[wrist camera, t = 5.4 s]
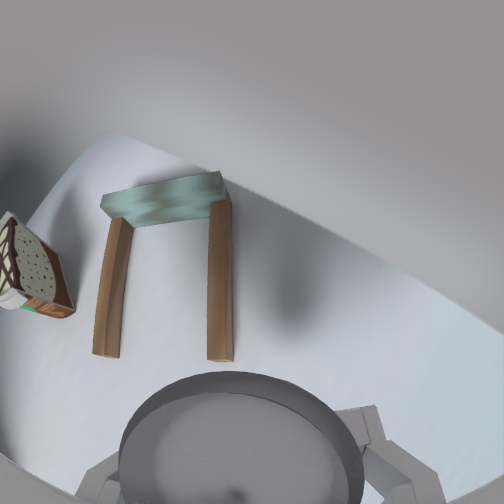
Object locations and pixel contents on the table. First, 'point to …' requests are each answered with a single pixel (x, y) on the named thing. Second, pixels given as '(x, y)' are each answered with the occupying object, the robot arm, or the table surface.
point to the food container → (31, 272)
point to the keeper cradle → (157, 212)
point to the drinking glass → (238, 445)
